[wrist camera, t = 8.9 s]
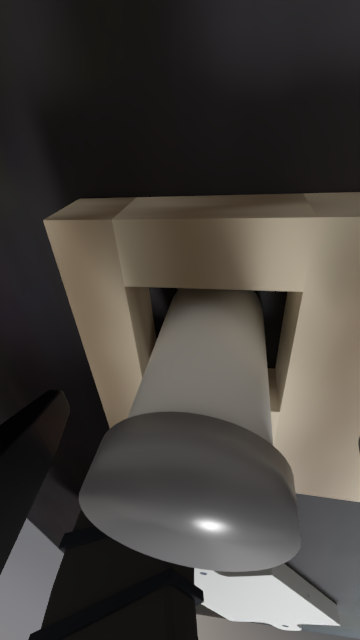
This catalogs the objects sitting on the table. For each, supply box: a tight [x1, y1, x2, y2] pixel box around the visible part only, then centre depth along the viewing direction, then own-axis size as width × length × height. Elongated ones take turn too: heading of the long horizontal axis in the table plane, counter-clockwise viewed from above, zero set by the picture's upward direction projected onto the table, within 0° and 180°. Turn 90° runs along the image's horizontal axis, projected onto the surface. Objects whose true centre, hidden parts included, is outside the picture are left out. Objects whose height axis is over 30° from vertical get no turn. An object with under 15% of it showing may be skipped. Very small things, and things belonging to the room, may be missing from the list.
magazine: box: [29, 509, 204, 640], centre depth 21 cm, size 4×13×15 cm, turn 125°
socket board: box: [43, 192, 360, 502], centre depth 12 cm, size 21×14×3 cm, turn 94°
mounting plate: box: [194, 564, 341, 631], centre depth 32 cm, size 18×13×2 cm
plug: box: [79, 288, 301, 572], centre depth 10 cm, size 5×5×8 cm
